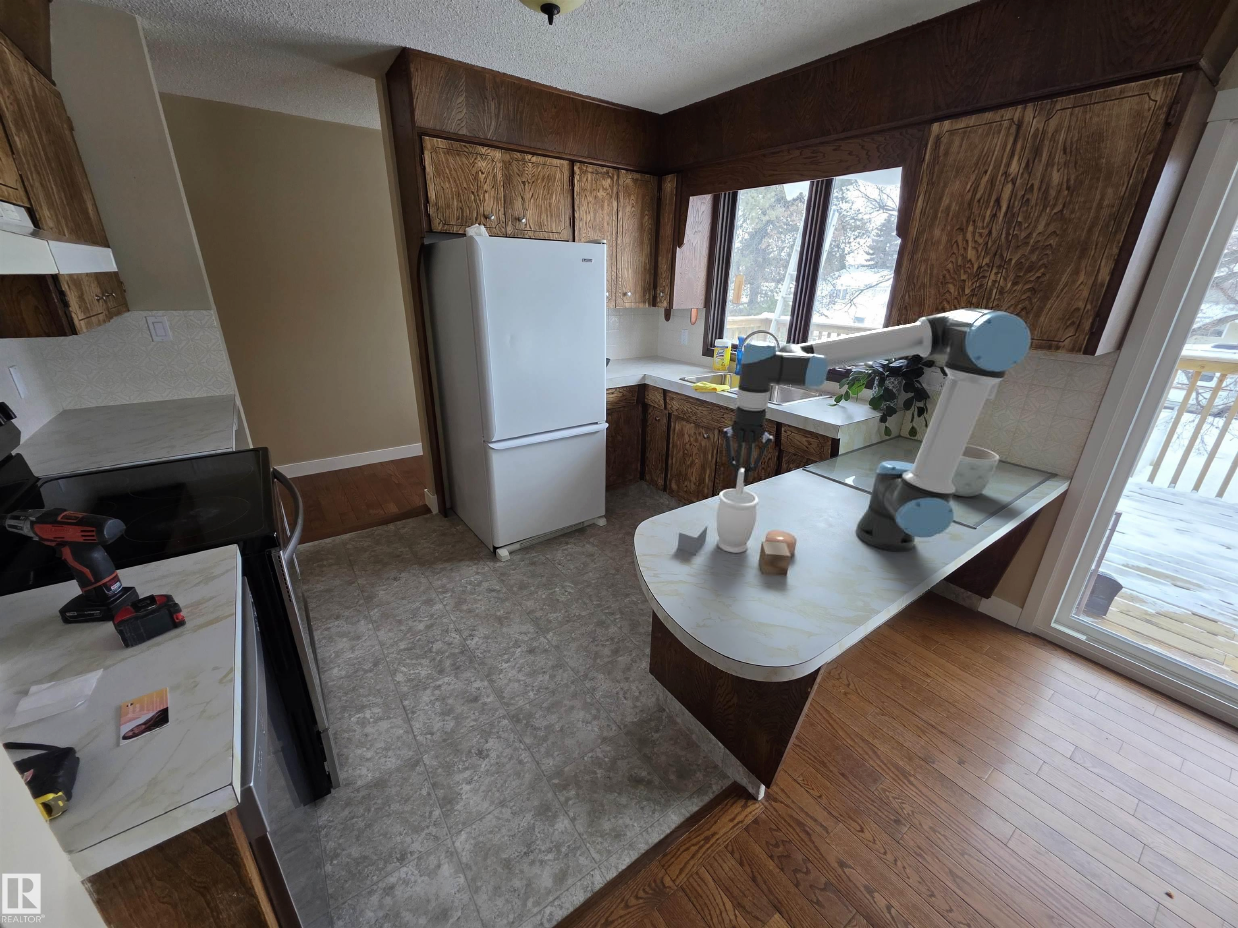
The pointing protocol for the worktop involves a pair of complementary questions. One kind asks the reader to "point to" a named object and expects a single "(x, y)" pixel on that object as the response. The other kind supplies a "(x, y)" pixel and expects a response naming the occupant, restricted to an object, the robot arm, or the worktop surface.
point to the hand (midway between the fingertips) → (739, 492)
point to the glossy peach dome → (782, 539)
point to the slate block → (692, 537)
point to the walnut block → (774, 558)
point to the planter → (974, 471)
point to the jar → (735, 519)
